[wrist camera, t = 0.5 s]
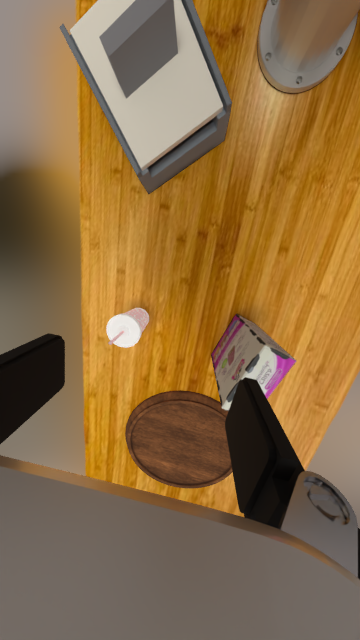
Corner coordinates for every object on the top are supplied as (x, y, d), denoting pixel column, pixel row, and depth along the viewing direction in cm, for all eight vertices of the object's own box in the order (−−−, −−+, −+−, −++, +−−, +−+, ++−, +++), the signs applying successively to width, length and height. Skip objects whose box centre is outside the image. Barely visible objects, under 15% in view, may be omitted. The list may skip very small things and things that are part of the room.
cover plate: (157, -50, 21) (143, -167, 15) (222, 111, 24) (230, 64, 19) (73, 38, 23) (35, -34, 18) (142, 171, 27) (128, 146, 21)
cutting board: (138, 374, 45) (135, 380, 42) (262, 410, 44) (266, 419, 42) (118, 462, 54) (114, 471, 51) (220, 492, 54) (221, 503, 51)
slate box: (170, 9, 26) (161, -83, 19) (224, 140, 30) (232, 102, 23) (91, 84, 29) (59, 28, 22) (148, 194, 33) (136, 174, 26)
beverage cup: (154, 329, 40) (133, 360, 27) (128, 331, 41) (95, 362, 28) (150, 302, 39) (125, 321, 25) (123, 305, 39) (85, 325, 26)
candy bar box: (229, 364, 41) (250, 424, 25) (210, 354, 41) (219, 409, 25) (257, 322, 38) (299, 362, 22) (236, 312, 38) (264, 344, 22)
